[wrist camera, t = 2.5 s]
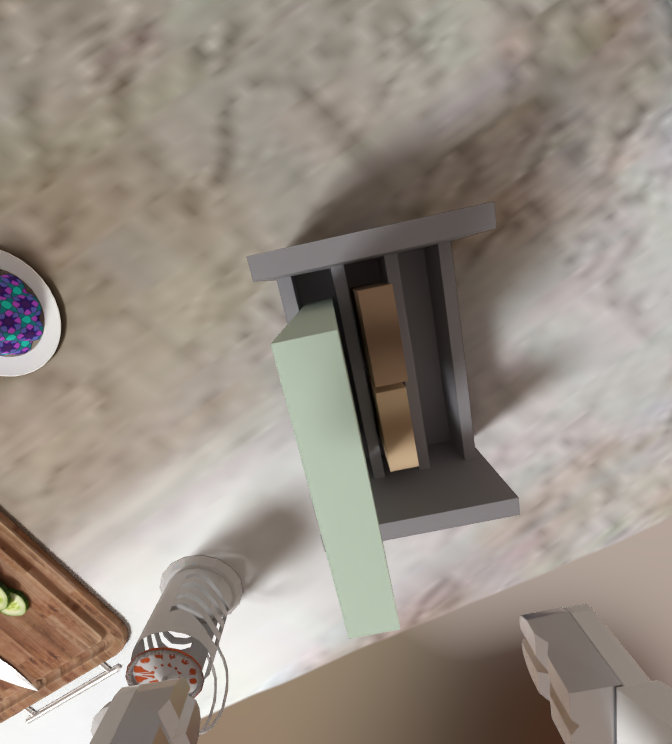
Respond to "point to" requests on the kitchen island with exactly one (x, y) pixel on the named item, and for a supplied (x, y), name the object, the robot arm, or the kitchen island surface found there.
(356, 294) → the offcut walnut
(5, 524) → the chopping board
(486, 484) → the rack
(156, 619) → the french press
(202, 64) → the kitchen island surface
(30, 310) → the pudding
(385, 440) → the offcut oak
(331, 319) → the tall panel
